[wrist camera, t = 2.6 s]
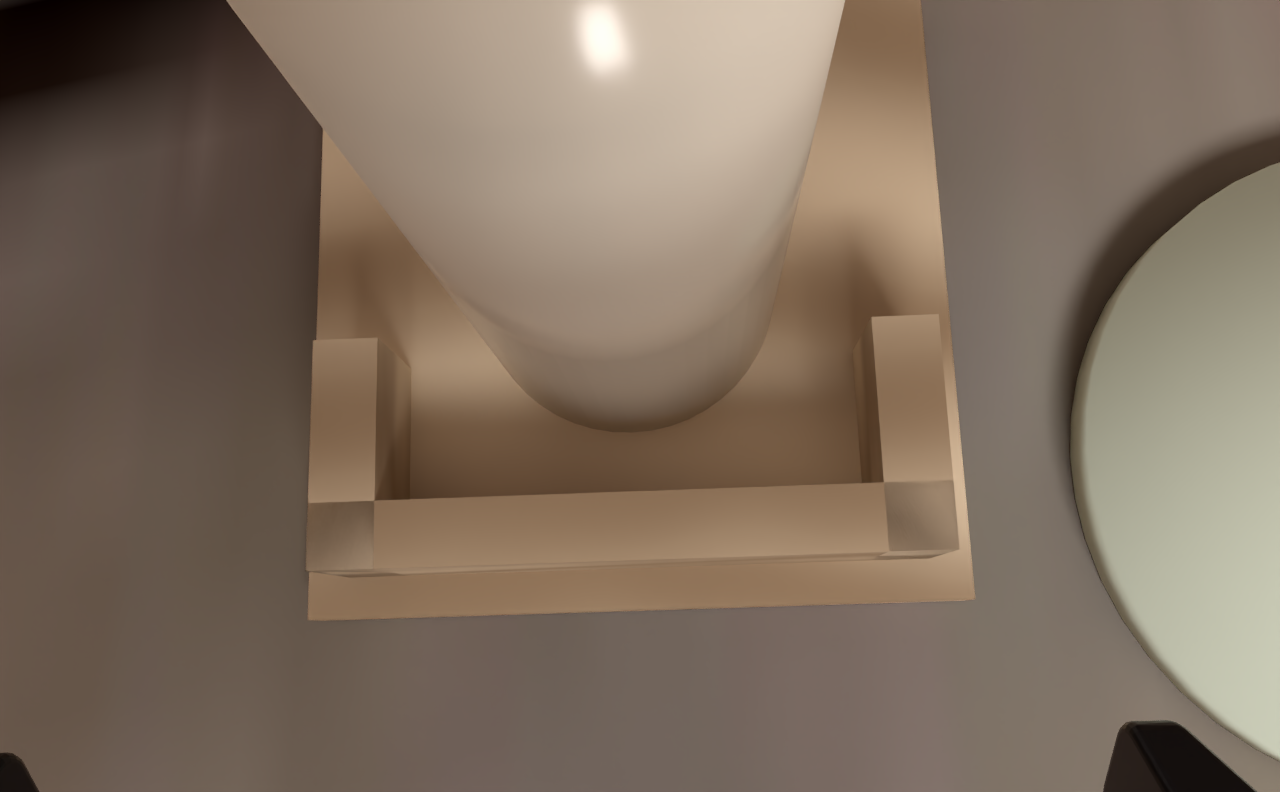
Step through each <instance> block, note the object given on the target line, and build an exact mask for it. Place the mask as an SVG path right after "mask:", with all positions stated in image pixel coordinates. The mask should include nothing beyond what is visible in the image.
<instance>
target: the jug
mask: <svg viewBox="0 0 1280 792" xmlns="http://www.w3.org/2000/svg"><path fill="white" fill-rule="evenodd" d="M227 2H228V3H229V5H230V6H231V8H232V9H233V10H234V12H235V13H236V14H237V16H238V17H239V18H240V20H241V21H242V22H243V24H244V25H245V26H246V28H247V29H248V30H249V31H250V33H251V34H252V35H253V37H254V38H255V39H256V41H257V42H258V43H259V45H260V46H261V47H262V49H263V50H264V51H265V53H266V54H267V55H268V57H269V58H270V59H271V60H272V62H273V63H274V64H275V66H276V67H277V68H278V70H279V71H280V72H281V74H282V75H283V76H284V78H285V79H286V80H287V82H288V83H289V84H290V86H291V87H292V88H293V89H294V91H295V92H296V93H297V95H298V96H299V97H300V99H301V100H302V101H303V103H304V104H305V105H306V107H307V108H308V109H309V111H310V112H311V113H312V115H313V116H314V117H315V119H316V120H317V121H318V122H319V124H320V125H321V126H322V128H323V129H324V130H325V132H326V133H327V134H328V136H329V137H330V138H331V140H332V141H333V142H334V144H335V145H336V146H337V148H338V149H339V150H340V151H341V153H342V154H343V155H344V157H345V158H346V159H347V161H348V162H349V163H350V165H351V166H352V167H353V169H354V170H355V171H356V173H357V174H358V175H359V177H360V178H361V179H362V180H363V182H364V183H365V184H366V186H367V187H368V188H369V190H370V191H371V192H372V194H373V195H374V196H375V198H376V199H377V200H378V202H379V203H380V204H381V206H382V207H383V208H384V209H385V211H386V212H387V213H388V215H389V216H390V217H391V219H392V220H393V221H394V223H395V224H396V225H397V227H398V228H399V229H400V231H401V232H402V233H403V235H404V236H405V237H406V238H407V240H408V241H409V242H410V244H411V245H412V246H413V248H414V249H415V250H416V252H417V253H418V254H419V256H420V257H421V258H422V260H423V261H424V262H425V264H426V265H427V266H428V268H429V269H430V270H431V271H432V273H433V274H434V275H435V277H436V278H437V279H438V281H439V282H440V283H441V285H442V286H443V287H444V289H445V290H446V291H447V293H448V294H449V295H450V297H451V298H452V299H453V300H454V302H455V303H456V304H457V306H458V307H459V308H460V310H461V311H462V312H463V314H464V315H465V316H466V318H467V319H468V320H469V322H470V323H471V324H472V326H473V327H474V328H475V329H476V331H477V332H478V333H479V335H480V336H481V337H482V339H483V340H484V341H485V343H486V344H487V345H488V347H489V348H490V349H491V351H492V352H493V353H494V355H495V356H496V357H497V358H498V360H499V361H500V362H501V364H502V365H503V366H504V368H505V369H506V370H507V372H508V373H509V374H510V376H511V377H512V378H513V380H514V381H515V382H516V383H517V384H518V385H519V386H520V387H521V388H522V389H523V390H524V392H525V393H526V394H528V395H529V396H530V397H531V398H532V399H534V400H535V401H536V402H537V403H538V404H540V405H541V406H542V407H544V408H546V409H547V410H549V411H551V412H552V413H554V414H555V415H557V416H559V417H561V418H564V419H566V420H568V421H570V422H573V423H575V424H578V425H582V426H585V427H588V428H592V429H597V430H603V431H609V432H630V433H632V432H642V431H652V430H656V429H660V428H664V427H669V426H672V425H675V424H677V423H680V422H683V421H685V420H688V419H690V418H692V417H694V416H696V415H697V414H699V413H701V412H703V411H705V410H707V409H708V408H709V407H711V406H712V405H714V404H715V403H716V402H718V401H719V400H721V399H722V398H723V397H724V396H725V395H726V394H727V393H728V392H729V391H731V390H732V389H733V388H734V387H735V386H736V385H737V384H738V382H739V381H740V380H741V379H742V377H743V376H744V375H745V374H746V373H747V371H748V370H749V368H750V367H751V365H752V363H753V362H754V360H755V359H756V357H757V355H758V353H759V351H760V349H761V347H762V345H763V342H764V340H765V338H766V335H767V331H768V328H769V324H770V321H771V317H772V313H773V308H774V304H775V300H776V295H777V291H778V287H779V283H780V278H781V274H782V270H783V265H784V261H785V257H786V253H787V248H788V244H789V240H790V235H791V231H792V227H793V222H794V218H795V214H796V210H797V205H798V201H799V197H800V192H801V188H802V184H803V179H804V175H805V171H806V167H807V162H808V158H809V154H810V149H811V145H812V141H813V136H814V132H815V128H816V124H817V119H818V115H819V111H820V106H821V102H822V98H823V93H824V89H825V85H826V81H827V76H828V72H829V68H830V63H831V59H832V55H833V51H834V46H835V42H836V38H837V33H838V29H839V25H840V20H841V16H842V12H843V8H844V3H845V0H227Z"/></svg>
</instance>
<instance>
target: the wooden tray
mask: <svg viewBox="0 0 1280 792" xmlns="http://www.w3.org/2000/svg"><path fill="white" fill-rule="evenodd" d="M306 571H309V592H308V620H320V621H328V620H360V619H392V618H424V617H456V616H487V615H519V614H551V613H583V612H615V611H646V610H678V609H710V608H742V607H774V606H805V605H837V604H869V603H901V602H933V601H963V600H972V599H975V591H974V580H973V569H972V558H971V547H970V536H969V525H968V514H967V503H966V492H965V481H964V470H963V459H962V448H961V437H960V426H959V415H958V404H957V393H956V382H955V371H954V360H953V349H952V338H951V327H950V317H949V306H948V295H947V284H946V273H945V262H944V251H943V240H942V229H941V218H940V207H939V196H938V185H937V174H936V163H935V152H934V141H933V130H932V119H931V108H930V97H929V86H928V75H927V64H926V53H925V42H924V31H923V20H922V9H921V0H845V3H844V8H843V12H842V16H841V20H840V25H839V29H838V33H837V38H836V42H835V46H834V51H833V55H832V59H831V63H830V68H829V72H828V76H827V81H826V85H825V89H824V93H823V98H822V102H821V106H820V111H819V115H818V119H817V124H816V128H815V132H814V136H813V141H812V145H811V149H810V154H809V158H808V162H807V167H806V171H805V175H804V179H803V184H802V188H801V192H800V197H799V201H798V205H797V210H796V214H795V218H794V222H793V227H792V231H791V235H790V240H789V244H788V248H787V253H786V257H785V261H784V265H783V270H782V274H781V278H780V283H779V287H778V291H777V295H776V300H775V304H774V308H773V313H772V317H771V321H770V324H769V328H768V331H767V335H766V338H765V340H764V342H763V345H762V347H761V349H760V351H759V353H758V355H757V357H756V359H755V360H754V362H753V363H752V365H751V367H750V368H749V370H748V371H747V373H746V374H745V375H744V376H743V377H742V379H741V380H740V381H739V382H738V384H737V385H736V386H735V387H734V388H733V389H732V390H731V391H729V392H728V393H727V394H726V395H725V396H724V397H723V398H722V399H721V400H719V401H718V402H716V403H715V404H714V405H712V406H711V407H709V408H708V409H707V410H705V411H703V412H701V413H699V414H697V415H696V416H694V417H692V418H690V419H688V420H685V421H683V422H680V423H677V424H675V425H672V426H669V427H664V428H660V429H656V430H652V431H642V432H632V433H630V432H609V431H603V430H597V429H592V428H588V427H585V426H582V425H578V424H575V423H573V422H570V421H568V420H566V419H564V418H561V417H559V416H557V415H555V414H554V413H552V412H551V411H549V410H547V409H546V408H544V407H542V406H541V405H540V404H538V403H537V402H536V401H535V400H534V399H532V398H531V397H530V396H529V395H528V394H526V393H525V392H524V390H523V389H522V388H521V387H520V386H519V385H518V384H517V383H516V382H515V381H514V380H513V378H512V377H511V376H510V374H509V373H508V372H507V370H506V369H505V368H504V366H503V365H502V364H501V362H500V361H499V360H498V358H497V357H496V356H495V355H494V353H493V352H492V351H491V349H490V348H489V347H488V345H487V344H486V343H485V341H484V340H483V339H482V337H481V336H480V335H479V333H478V332H477V331H476V329H475V328H474V327H473V326H472V324H471V323H470V322H469V320H468V319H467V318H466V316H465V315H464V314H463V312H462V311H461V310H460V308H459V307H458V306H457V304H456V303H455V302H454V300H453V299H452V298H451V297H450V295H449V294H448V293H447V291H446V290H445V289H444V287H443V286H442V285H441V283H440V282H439V281H438V279H437V278H436V277H435V275H434V274H433V273H432V271H431V270H430V269H429V268H428V266H427V265H426V264H425V262H424V261H423V260H422V258H421V257H420V256H419V254H418V253H417V252H416V250H415V249H414V248H413V246H412V245H411V244H410V242H409V241H408V240H407V238H406V237H405V236H404V235H403V233H402V232H401V231H400V229H399V228H398V227H397V225H396V224H395V223H394V221H393V220H392V219H391V217H390V216H389V215H388V213H387V212H386V211H385V209H384V208H383V207H382V206H381V204H380V203H379V202H378V200H377V199H376V198H375V196H374V195H373V194H372V192H371V191H370V190H369V188H368V187H367V186H366V184H365V183H364V182H363V180H362V179H361V178H360V177H359V175H358V174H357V173H356V171H355V170H354V169H353V167H352V166H351V165H350V163H349V162H348V161H347V159H346V158H345V157H344V155H343V154H342V153H341V151H340V150H339V149H338V148H337V146H336V145H335V144H334V142H333V141H332V140H331V138H330V137H329V136H328V134H327V133H326V132H325V130H324V129H323V146H322V178H321V210H320V242H319V274H318V305H317V337H316V340H313V358H312V390H311V421H310V452H309V483H308V514H307V546H306Z"/></svg>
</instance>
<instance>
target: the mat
mask: <svg viewBox="0 0 1280 792" xmlns="http://www.w3.org/2000/svg"><path fill="white" fill-rule="evenodd" d="M1070 460H1071V469H1072V478H1073V486H1074V495H1075V501H1076V505H1077V509H1078V513H1079V517H1080V521H1081V525H1082V529H1083V533H1084V537H1085V540H1086V543H1087V545H1088V548H1089V551H1090V553H1091V556H1092V558H1093V561H1094V563H1095V566H1096V568H1097V571H1098V574H1099V576H1100V579H1101V581H1102V583H1103V585H1104V587H1105V588H1106V590H1107V592H1108V594H1109V596H1110V598H1111V599H1112V601H1113V603H1114V605H1115V607H1116V609H1117V611H1118V612H1119V614H1120V616H1121V618H1122V620H1123V621H1124V623H1125V624H1126V625H1127V627H1128V628H1129V630H1130V631H1131V632H1132V634H1133V635H1134V637H1135V638H1136V639H1137V641H1138V642H1139V644H1140V645H1141V646H1142V648H1143V649H1144V651H1145V652H1146V654H1147V655H1148V656H1149V658H1150V659H1151V660H1152V661H1153V662H1154V663H1155V664H1156V665H1157V666H1158V668H1159V669H1160V670H1161V671H1162V672H1163V673H1164V674H1165V675H1166V676H1167V677H1168V679H1169V680H1170V681H1171V682H1172V683H1173V684H1174V685H1175V686H1176V687H1177V688H1178V690H1179V691H1180V692H1181V693H1183V694H1184V695H1185V696H1186V697H1187V698H1188V699H1189V700H1191V701H1192V702H1193V703H1194V704H1195V705H1196V706H1198V707H1199V708H1200V709H1201V710H1202V711H1203V712H1204V713H1206V714H1207V715H1208V716H1209V717H1210V718H1211V719H1213V720H1214V721H1215V722H1216V723H1217V724H1219V725H1220V726H1222V727H1223V728H1225V729H1226V730H1228V731H1229V732H1231V733H1232V734H1234V735H1235V736H1237V737H1238V738H1240V739H1241V740H1242V741H1244V742H1245V743H1247V744H1248V745H1250V746H1251V747H1253V748H1254V749H1256V750H1258V751H1260V752H1262V753H1264V754H1266V755H1267V756H1269V757H1271V758H1273V759H1275V760H1277V761H1279V762H1280V163H1276V164H1273V165H1270V166H1268V167H1266V168H1264V169H1262V170H1259V171H1257V172H1255V173H1253V174H1251V175H1248V176H1246V177H1244V178H1242V179H1240V180H1238V181H1235V182H1234V183H1232V184H1230V185H1229V186H1227V187H1226V188H1224V189H1222V190H1221V191H1219V192H1218V193H1216V194H1215V195H1213V196H1211V197H1210V198H1208V199H1207V200H1205V201H1204V202H1202V203H1200V204H1199V205H1198V206H1197V207H1196V208H1195V209H1193V210H1192V211H1191V212H1190V213H1189V214H1187V215H1186V216H1185V217H1184V218H1183V219H1182V220H1180V221H1179V222H1178V223H1177V224H1176V225H1174V226H1173V227H1172V228H1171V229H1170V230H1169V231H1167V232H1166V233H1165V234H1164V235H1163V236H1162V237H1160V238H1159V239H1158V240H1157V241H1156V242H1154V243H1153V244H1152V245H1151V246H1150V247H1149V248H1148V249H1147V250H1146V252H1145V253H1144V254H1143V255H1142V256H1141V257H1140V258H1139V259H1138V261H1137V262H1136V263H1135V264H1134V265H1133V266H1132V267H1131V268H1130V270H1129V271H1128V272H1127V273H1126V274H1125V276H1124V277H1123V279H1122V280H1121V282H1120V283H1119V285H1118V286H1117V288H1116V289H1115V291H1114V292H1113V294H1112V295H1111V297H1110V298H1109V300H1108V301H1107V303H1106V305H1105V306H1104V308H1103V310H1102V313H1101V315H1100V317H1099V319H1098V321H1097V323H1096V325H1095V327H1094V330H1093V332H1092V334H1091V336H1090V338H1089V340H1088V344H1087V347H1086V350H1085V353H1084V357H1083V360H1082V363H1081V366H1080V370H1079V373H1078V376H1077V381H1076V388H1075V394H1074V400H1073V407H1072V413H1071V438H1070Z"/></svg>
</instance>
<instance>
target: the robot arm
mask: <svg viewBox="0 0 1280 792" xmlns="http://www.w3.org/2000/svg"><path fill="white" fill-rule="evenodd" d="M0 792H39V790H38V788H37V787H36V785H35V783H34V781H33V779H32V777H31V775H30V774H29V772H28V770H27V768H26V766H25V764H24V763H23V761H22V760H21V759H20V758H19V757H18V756H16V755H14V754H13V753H0ZM1103 792H1257V791H1256V790H1255V789H1253V788H1252V787H1251V786H1250V785H1249V784H1248V783H1247V782H1246V781H1244V780H1243V779H1242V778H1241V777H1240V776H1239V775H1238V774H1237V773H1236V772H1234V771H1233V770H1232V769H1231V768H1230V767H1229V766H1228V765H1227V764H1225V763H1224V762H1223V761H1222V760H1221V759H1220V758H1219V757H1218V756H1216V755H1215V754H1214V753H1213V752H1212V751H1211V750H1210V749H1209V748H1208V747H1206V746H1205V745H1204V744H1203V743H1202V742H1201V741H1200V740H1199V739H1197V738H1196V737H1195V736H1194V735H1193V734H1192V733H1191V732H1190V731H1189V730H1187V729H1186V728H1185V727H1183V726H1182V725H1180V724H1178V723H1176V722H1173V721H1167V720H1161V721H1131V722H1127V723H1125V724H1124V725H1123V726H1122V727H1121V728H1120V730H1119V732H1118V735H1117V738H1116V742H1115V746H1114V750H1113V753H1112V757H1111V761H1110V765H1109V769H1108V772H1107V776H1106V780H1105V784H1104V790H1103Z"/></svg>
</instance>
